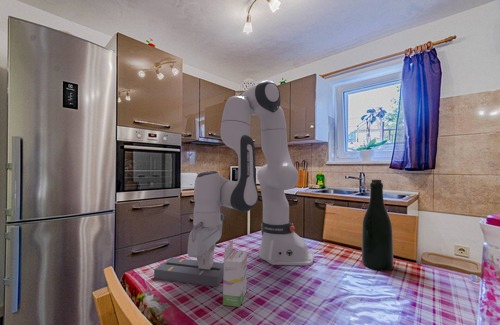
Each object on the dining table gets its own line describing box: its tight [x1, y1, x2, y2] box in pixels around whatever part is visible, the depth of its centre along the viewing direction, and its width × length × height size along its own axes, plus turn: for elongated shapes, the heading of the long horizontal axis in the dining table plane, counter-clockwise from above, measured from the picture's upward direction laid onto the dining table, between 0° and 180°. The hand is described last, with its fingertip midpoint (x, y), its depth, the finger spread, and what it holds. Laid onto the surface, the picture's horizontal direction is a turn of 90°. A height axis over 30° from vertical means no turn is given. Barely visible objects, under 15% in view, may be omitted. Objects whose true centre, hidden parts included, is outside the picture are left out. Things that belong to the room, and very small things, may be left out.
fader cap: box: [198, 250, 214, 270], centre depth 74 cm, size 4×3×6 cm
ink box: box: [222, 240, 248, 308], centre depth 62 cm, size 9×5×15 cm, turn 168°
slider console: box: [153, 257, 224, 288], centre depth 75 cm, size 22×10×3 cm, turn 78°
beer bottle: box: [361, 178, 394, 272], centre depth 85 cm, size 10×10×33 cm
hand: (206, 260), depth 74 cm, fingers open, 6 cm apart
